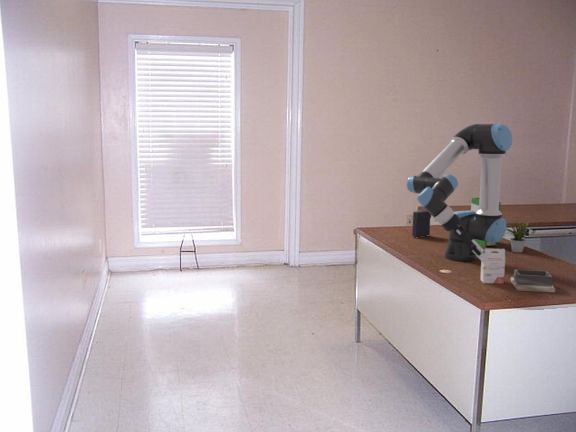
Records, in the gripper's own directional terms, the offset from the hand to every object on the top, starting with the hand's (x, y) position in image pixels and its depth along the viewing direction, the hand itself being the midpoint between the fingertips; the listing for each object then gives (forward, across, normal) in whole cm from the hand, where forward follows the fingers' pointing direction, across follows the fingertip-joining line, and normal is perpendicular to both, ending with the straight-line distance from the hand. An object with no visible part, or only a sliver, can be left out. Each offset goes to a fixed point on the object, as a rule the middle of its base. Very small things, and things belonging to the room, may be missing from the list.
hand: (483, 256), depth 224 cm
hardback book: (+14, -76, -1) cm, 78 cm away
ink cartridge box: (+11, -1, -5) cm, 12 cm away
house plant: (+25, -61, +10) cm, 67 cm away
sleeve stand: (+21, +2, +6) cm, 22 cm away
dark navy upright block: (-9, -87, -25) cm, 91 cm away
